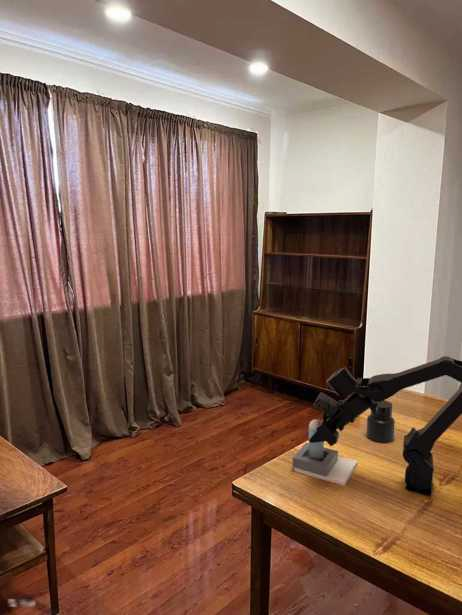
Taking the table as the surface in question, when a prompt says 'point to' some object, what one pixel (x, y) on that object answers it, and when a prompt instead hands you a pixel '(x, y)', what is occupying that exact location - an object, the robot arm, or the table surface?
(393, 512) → the table surface
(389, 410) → the ink bottle
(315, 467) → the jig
